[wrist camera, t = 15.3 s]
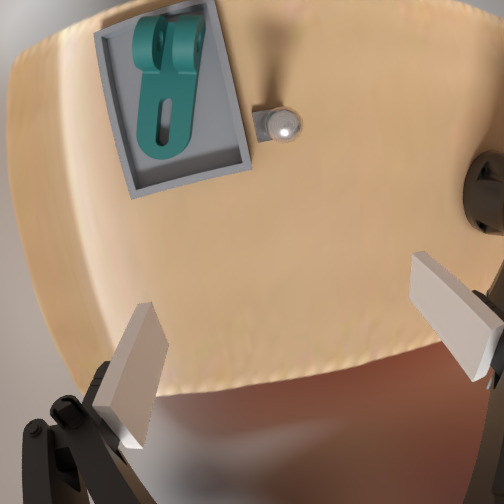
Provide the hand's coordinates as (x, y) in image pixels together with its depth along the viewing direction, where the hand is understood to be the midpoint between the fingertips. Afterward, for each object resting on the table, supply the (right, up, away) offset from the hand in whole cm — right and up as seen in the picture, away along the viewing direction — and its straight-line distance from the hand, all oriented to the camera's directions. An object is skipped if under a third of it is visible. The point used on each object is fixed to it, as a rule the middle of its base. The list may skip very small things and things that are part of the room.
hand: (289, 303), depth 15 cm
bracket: (-12, +23, +20) cm, 33 cm away
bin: (-12, +23, +20) cm, 33 cm away
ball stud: (+1, +19, +23) cm, 29 cm away
